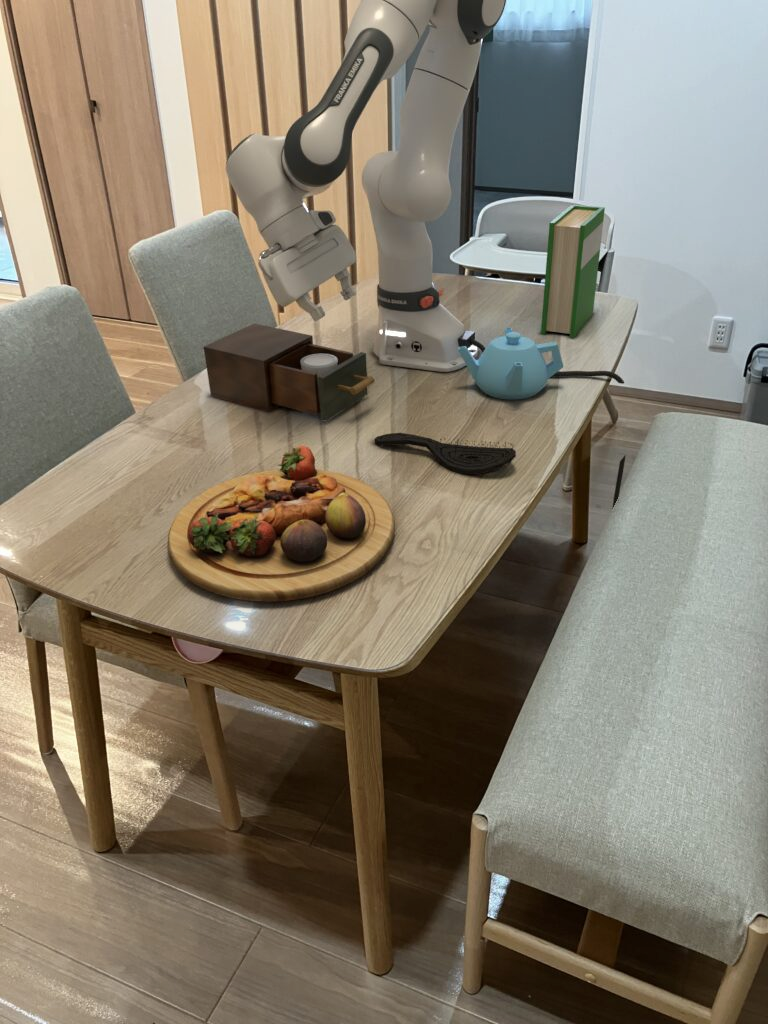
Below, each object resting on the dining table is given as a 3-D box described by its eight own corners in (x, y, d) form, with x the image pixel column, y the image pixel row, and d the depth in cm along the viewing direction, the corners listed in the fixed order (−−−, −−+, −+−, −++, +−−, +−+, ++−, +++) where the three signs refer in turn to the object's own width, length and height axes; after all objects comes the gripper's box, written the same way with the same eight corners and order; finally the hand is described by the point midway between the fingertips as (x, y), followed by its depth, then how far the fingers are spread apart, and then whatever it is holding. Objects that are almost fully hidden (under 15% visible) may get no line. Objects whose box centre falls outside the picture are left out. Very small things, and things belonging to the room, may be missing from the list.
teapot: (514, 411, 151) (518, 355, 145) (454, 388, 160) (455, 335, 155) (565, 387, 159) (571, 333, 154) (505, 366, 169) (508, 315, 163)
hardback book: (573, 338, 181) (585, 225, 168) (540, 333, 184) (549, 222, 171) (592, 313, 195) (604, 207, 182) (562, 309, 197) (571, 204, 185)
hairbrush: (385, 417, 144) (523, 437, 133) (387, 436, 146) (523, 458, 135) (362, 437, 138) (505, 460, 127) (364, 457, 139) (505, 481, 129)
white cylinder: (345, 390, 156) (344, 355, 152) (329, 405, 151) (327, 369, 147) (313, 385, 158) (311, 350, 155) (296, 399, 153) (293, 364, 149)
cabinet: (316, 384, 164) (312, 335, 158) (269, 412, 153) (263, 360, 148) (259, 370, 171) (254, 323, 165) (210, 396, 160) (203, 346, 155)
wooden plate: (244, 466, 136) (238, 421, 132) (426, 501, 125) (426, 452, 121) (122, 575, 111) (109, 523, 107) (336, 630, 100) (332, 575, 96)
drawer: (386, 398, 155) (385, 357, 150) (345, 426, 145) (343, 382, 141) (311, 380, 163) (307, 340, 159) (267, 405, 154) (263, 363, 149)
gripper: (265, 247, 129) (313, 324, 133) (337, 208, 143) (378, 279, 146) (242, 264, 133) (289, 338, 137) (314, 224, 147) (355, 293, 151)
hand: (336, 308), depth 142 cm, fingers open, 8 cm apart
